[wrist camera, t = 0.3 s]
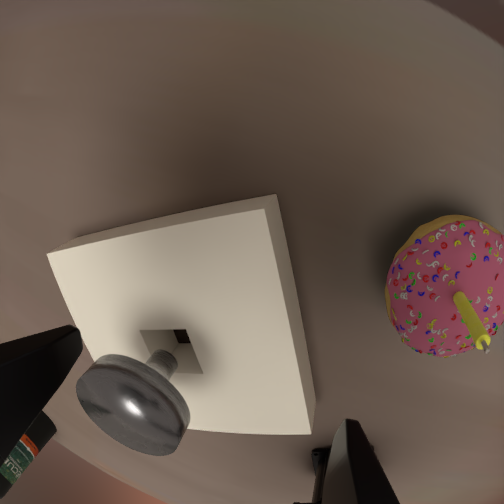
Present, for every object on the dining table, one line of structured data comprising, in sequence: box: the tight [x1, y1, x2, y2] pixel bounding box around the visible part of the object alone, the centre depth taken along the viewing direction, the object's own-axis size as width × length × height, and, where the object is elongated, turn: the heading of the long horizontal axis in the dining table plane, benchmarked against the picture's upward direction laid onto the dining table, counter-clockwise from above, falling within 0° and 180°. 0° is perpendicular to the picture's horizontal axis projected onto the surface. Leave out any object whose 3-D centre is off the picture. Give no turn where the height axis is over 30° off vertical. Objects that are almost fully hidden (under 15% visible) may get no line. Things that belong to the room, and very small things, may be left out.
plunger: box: [76, 349, 190, 456], centre depth 19 cm, size 7×7×6 cm
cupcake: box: [385, 215, 504, 358], centre depth 14 cm, size 9×8×12 cm
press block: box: [47, 194, 316, 435], centre depth 24 cm, size 18×18×4 cm
